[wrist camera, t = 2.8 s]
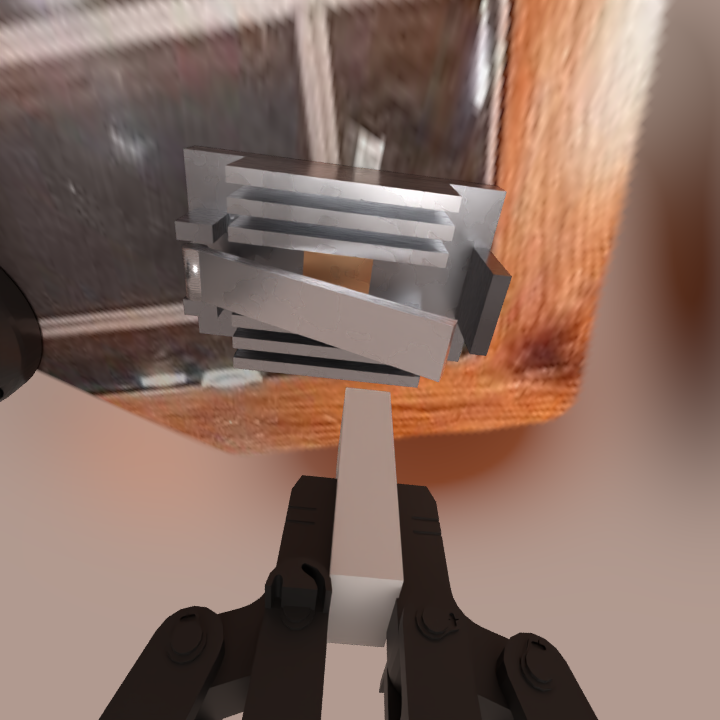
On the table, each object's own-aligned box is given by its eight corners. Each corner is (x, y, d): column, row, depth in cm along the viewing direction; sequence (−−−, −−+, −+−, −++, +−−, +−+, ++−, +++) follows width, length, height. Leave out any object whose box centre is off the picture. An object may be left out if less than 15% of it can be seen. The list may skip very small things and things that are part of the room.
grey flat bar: (198, 290, 26) (181, 297, 25) (194, 241, 24) (176, 246, 23) (444, 371, 21) (437, 385, 20) (458, 318, 20) (451, 329, 18)
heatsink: (208, 320, 32) (172, 370, 26) (195, 145, 26) (144, 158, 20) (453, 348, 33) (472, 402, 27) (497, 186, 27) (535, 209, 21)
